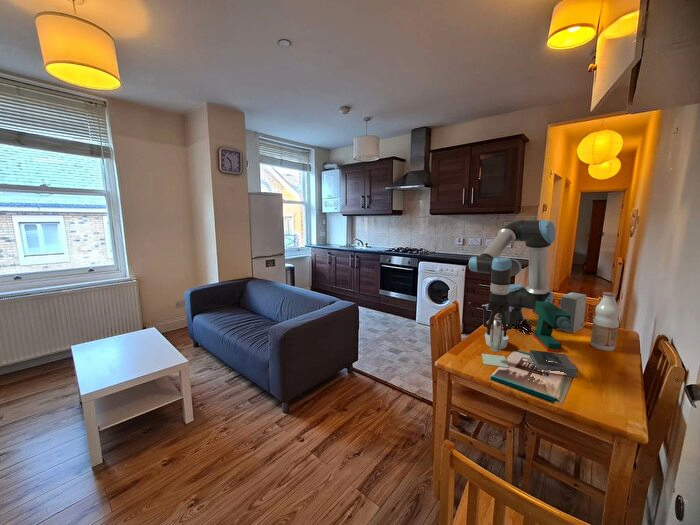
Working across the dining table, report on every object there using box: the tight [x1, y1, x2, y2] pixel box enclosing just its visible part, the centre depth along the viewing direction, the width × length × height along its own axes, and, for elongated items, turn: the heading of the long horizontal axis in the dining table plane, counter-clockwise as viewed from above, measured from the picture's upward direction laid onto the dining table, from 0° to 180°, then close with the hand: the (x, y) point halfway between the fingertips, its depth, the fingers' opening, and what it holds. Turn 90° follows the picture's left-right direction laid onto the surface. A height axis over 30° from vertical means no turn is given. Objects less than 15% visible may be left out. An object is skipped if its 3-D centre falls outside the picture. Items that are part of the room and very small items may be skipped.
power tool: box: [531, 301, 573, 353], centre depth 142 cm, size 32×7×20 cm, turn 168°
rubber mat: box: [481, 353, 509, 368], centre depth 134 cm, size 10×10×1 cm
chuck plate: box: [528, 349, 578, 378], centre depth 128 cm, size 14×14×4 cm
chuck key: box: [490, 316, 503, 353], centre depth 132 cm, size 4×8×15 cm, turn 161°
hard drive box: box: [557, 291, 587, 334], centre depth 167 cm, size 16×8×20 cm, turn 124°
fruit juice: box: [590, 291, 621, 352], centre depth 143 cm, size 9×9×28 cm
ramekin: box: [484, 331, 510, 350], centre depth 149 cm, size 11×11×5 cm
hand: (495, 342), depth 132 cm, fingers closed on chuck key, 4 cm apart
